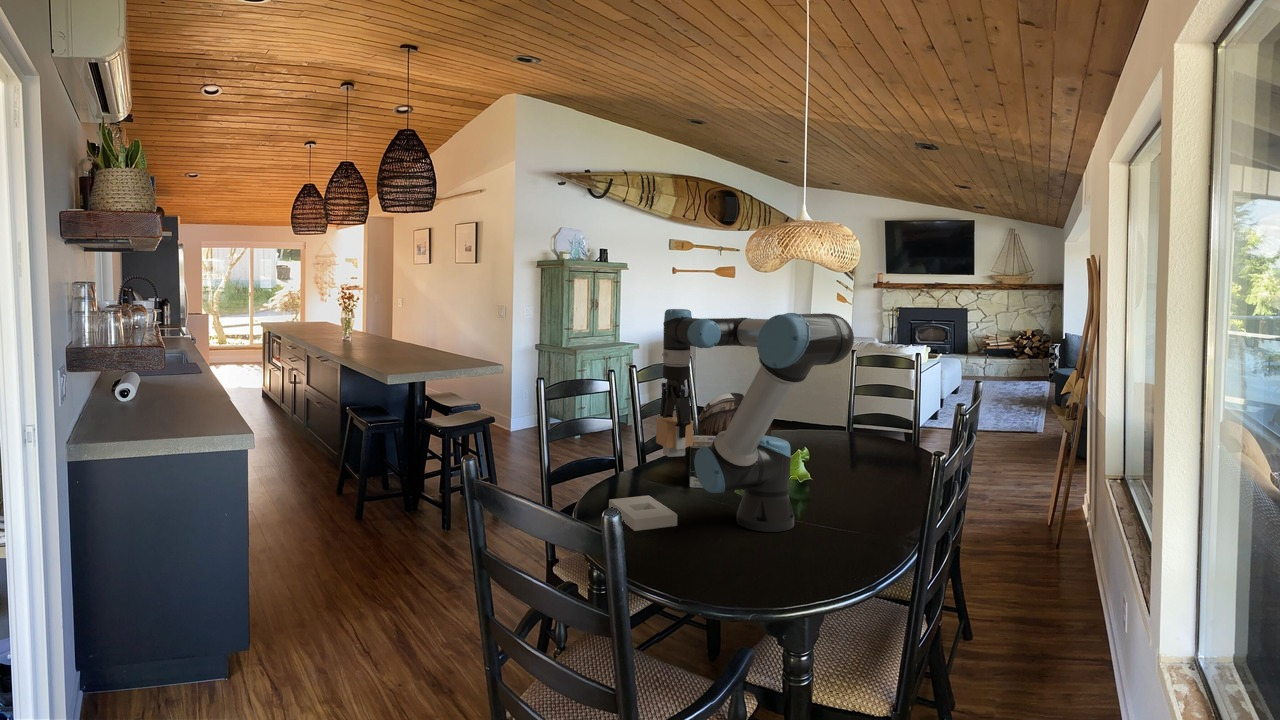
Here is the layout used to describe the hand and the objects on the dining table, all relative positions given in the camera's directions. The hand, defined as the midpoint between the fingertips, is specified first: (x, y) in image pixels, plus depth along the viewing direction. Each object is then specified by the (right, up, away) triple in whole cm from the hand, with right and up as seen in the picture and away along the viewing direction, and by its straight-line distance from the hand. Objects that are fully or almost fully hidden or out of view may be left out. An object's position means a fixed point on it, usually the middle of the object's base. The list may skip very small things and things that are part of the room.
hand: (674, 445), depth 215 cm
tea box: (+13, -15, +23) cm, 31 cm away
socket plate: (-9, -18, -10) cm, 23 cm away
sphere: (+22, -12, +48) cm, 54 cm away
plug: (0, -3, 0) cm, 3 cm away
